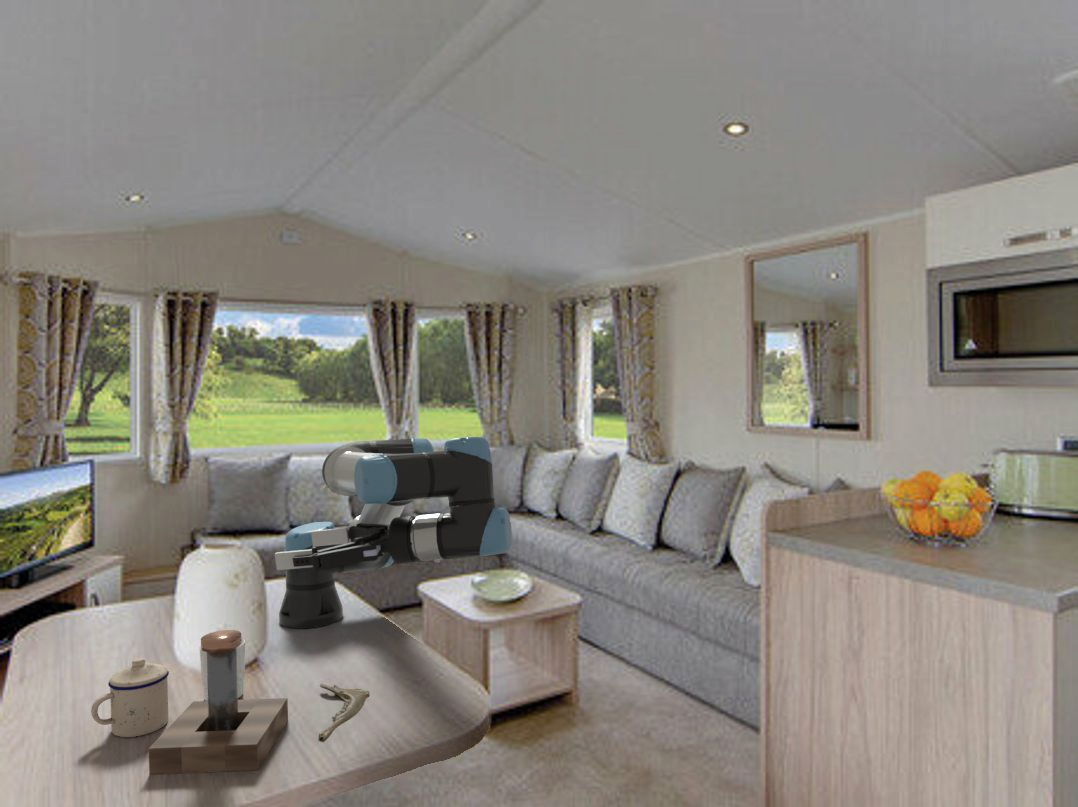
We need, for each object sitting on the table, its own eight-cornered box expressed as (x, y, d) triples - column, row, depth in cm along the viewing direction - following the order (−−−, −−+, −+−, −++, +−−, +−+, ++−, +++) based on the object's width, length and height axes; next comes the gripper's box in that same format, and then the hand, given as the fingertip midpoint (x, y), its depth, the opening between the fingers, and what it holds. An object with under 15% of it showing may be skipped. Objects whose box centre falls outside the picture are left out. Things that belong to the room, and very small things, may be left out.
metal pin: (212, 737, 120) (209, 630, 120) (249, 735, 121) (246, 629, 120) (197, 756, 114) (194, 643, 114) (236, 754, 115) (233, 642, 114)
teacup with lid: (155, 709, 131) (153, 645, 130) (179, 723, 125) (177, 657, 125) (81, 735, 121) (79, 667, 121) (104, 752, 116) (102, 680, 115)
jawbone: (367, 690, 140) (368, 679, 140) (374, 741, 121) (375, 729, 121) (319, 692, 138) (319, 681, 138) (318, 745, 118) (319, 733, 118)
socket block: (194, 724, 125) (193, 701, 125) (288, 720, 126) (287, 698, 126) (149, 774, 109) (148, 748, 109) (257, 770, 110) (256, 744, 110)
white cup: (236, 684, 142) (235, 633, 141) (253, 696, 136) (252, 643, 136) (194, 696, 136) (193, 644, 136) (210, 709, 130) (208, 655, 130)
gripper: (397, 585, 107) (262, 596, 110) (439, 540, 132) (328, 550, 134) (390, 535, 107) (255, 548, 109) (433, 500, 131) (322, 510, 134)
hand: (295, 549), depth 122 cm, fingers open, 13 cm apart
